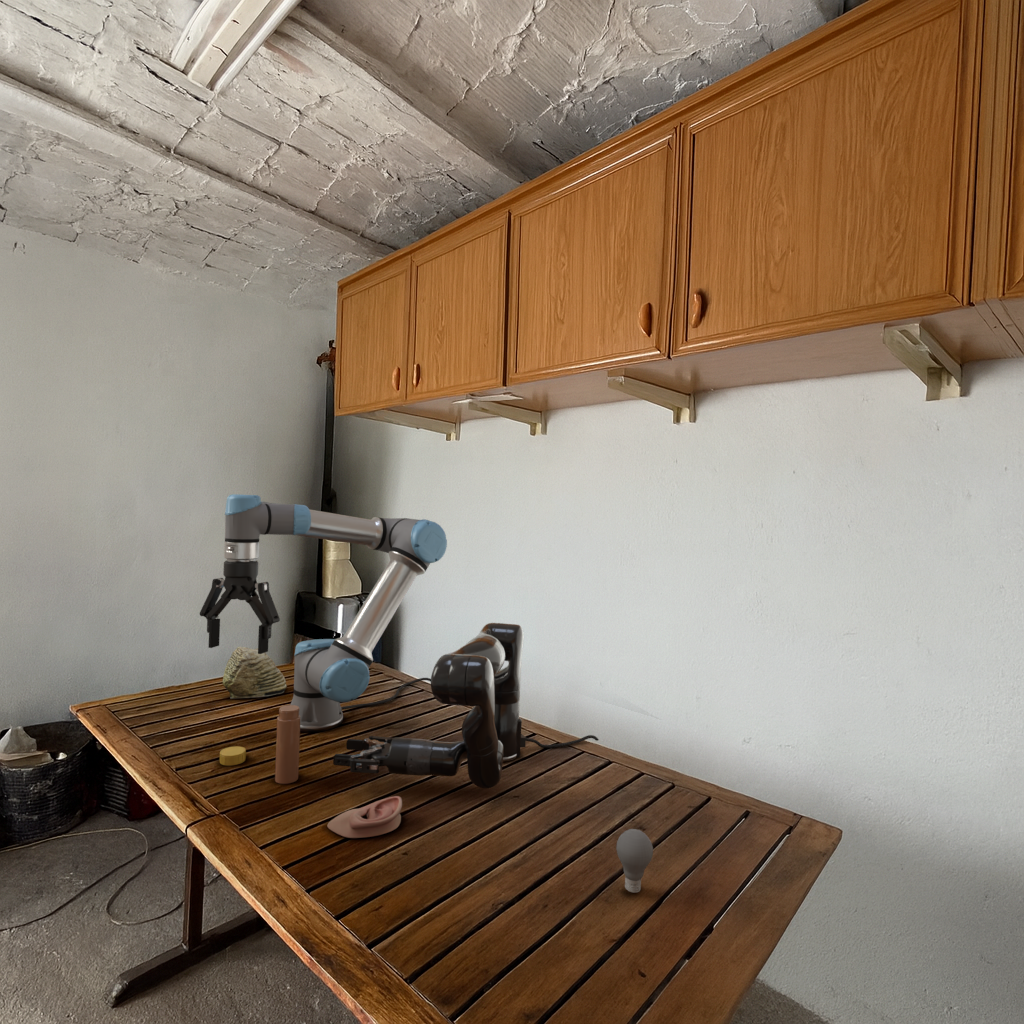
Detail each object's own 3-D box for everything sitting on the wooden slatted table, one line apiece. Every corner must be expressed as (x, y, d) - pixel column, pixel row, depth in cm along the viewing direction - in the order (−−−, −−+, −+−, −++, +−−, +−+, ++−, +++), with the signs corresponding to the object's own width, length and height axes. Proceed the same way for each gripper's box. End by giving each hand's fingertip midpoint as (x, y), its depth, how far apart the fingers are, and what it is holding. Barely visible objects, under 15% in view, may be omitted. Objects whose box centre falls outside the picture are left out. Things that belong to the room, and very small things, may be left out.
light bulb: (610, 879, 108) (613, 822, 108) (644, 879, 109) (647, 822, 109) (619, 902, 102) (622, 840, 102) (655, 901, 103) (658, 840, 103)
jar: (296, 783, 139) (299, 711, 139) (272, 784, 138) (275, 711, 138) (299, 773, 144) (302, 704, 144) (277, 774, 143) (279, 704, 143)
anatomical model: (320, 812, 119) (347, 786, 130) (319, 833, 119) (347, 805, 130) (386, 822, 116) (408, 795, 127) (385, 844, 116) (408, 814, 128)
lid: (250, 758, 151) (251, 748, 151) (234, 767, 146) (234, 757, 146) (231, 754, 153) (231, 744, 153) (213, 763, 148) (214, 753, 148)
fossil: (218, 695, 195) (220, 647, 195) (278, 685, 208) (279, 640, 207) (228, 703, 189) (230, 653, 188) (289, 692, 201) (290, 645, 201)
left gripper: (185, 557, 149) (182, 647, 149) (277, 564, 142) (274, 658, 142) (208, 555, 156) (205, 641, 156) (297, 562, 149) (293, 651, 150)
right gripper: (420, 728, 147) (351, 723, 148) (405, 752, 132) (329, 747, 133) (418, 760, 147) (350, 755, 148) (404, 788, 132) (328, 782, 134)
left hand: (238, 649), depth 149 cm, fingers open, 13 cm apart
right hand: (340, 751), depth 141 cm, fingers open, 8 cm apart
